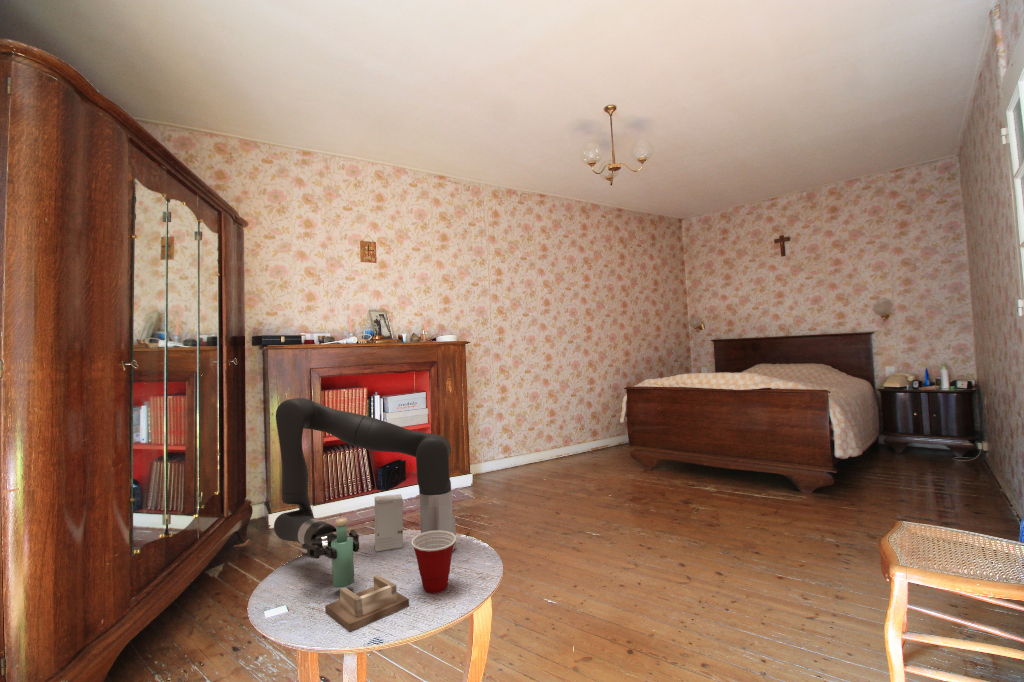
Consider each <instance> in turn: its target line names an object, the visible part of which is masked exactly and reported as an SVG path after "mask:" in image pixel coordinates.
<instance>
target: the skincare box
mask: <svg viewBox="0 0 1024 682" xmlns="http://www.w3.org/2000/svg"><path fill="white" fill-rule="evenodd" d="M403 503H404V502H403V496H402V494H388V495H378V496H374V549H375V552H376V553H377V552H383V551H389V550H394V549H395V550H396V549H402V548H403V547H404V541H403V540H404V539H403V537H404V533H403V532H404V531H403V529H404V528H403V527H404V526H403V525H404V520H403V519H404V515H403V513H404V507H403Z"/></svg>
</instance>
